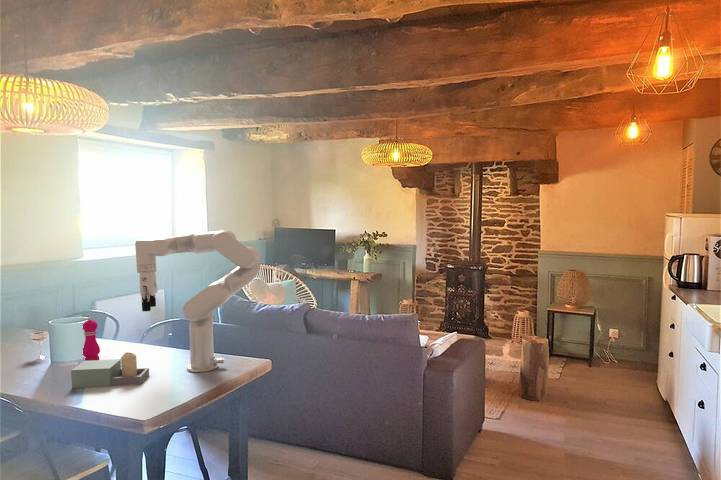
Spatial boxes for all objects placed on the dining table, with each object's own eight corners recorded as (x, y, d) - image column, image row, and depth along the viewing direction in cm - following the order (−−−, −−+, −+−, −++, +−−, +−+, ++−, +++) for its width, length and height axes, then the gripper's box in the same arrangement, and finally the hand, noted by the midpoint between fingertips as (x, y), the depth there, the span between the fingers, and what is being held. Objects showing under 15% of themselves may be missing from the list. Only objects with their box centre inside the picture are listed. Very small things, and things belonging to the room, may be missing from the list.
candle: (140, 376, 204) (139, 351, 203) (128, 380, 199) (127, 355, 198) (130, 374, 206) (129, 350, 206) (118, 378, 201) (117, 354, 201)
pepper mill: (92, 363, 225) (90, 318, 224) (78, 362, 226) (76, 318, 225) (104, 358, 232) (102, 315, 231) (90, 358, 234) (88, 315, 232)
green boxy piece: (149, 374, 209) (148, 357, 209) (140, 384, 197) (139, 367, 197) (85, 377, 206) (84, 360, 206) (72, 388, 194) (71, 370, 194)
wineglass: (51, 356, 236) (50, 331, 236) (36, 360, 231) (34, 334, 230) (44, 354, 240) (43, 329, 239) (28, 358, 234) (27, 332, 234)
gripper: (151, 270, 205) (154, 312, 206) (160, 265, 222) (162, 304, 223) (131, 271, 204) (134, 313, 205) (142, 266, 221) (144, 305, 222)
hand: (149, 308), depth 214 cm, fingers open, 9 cm apart
